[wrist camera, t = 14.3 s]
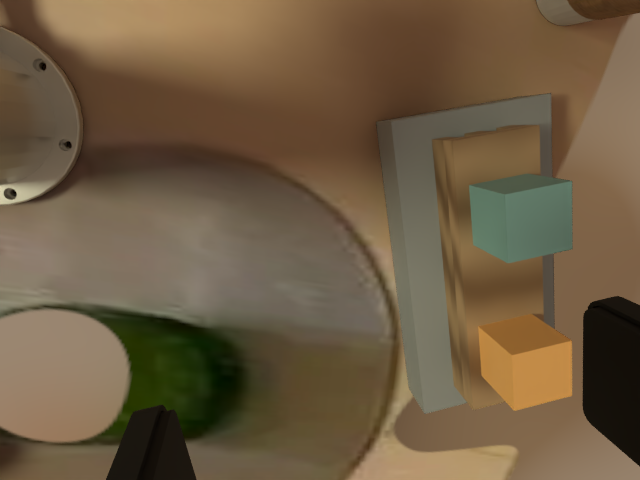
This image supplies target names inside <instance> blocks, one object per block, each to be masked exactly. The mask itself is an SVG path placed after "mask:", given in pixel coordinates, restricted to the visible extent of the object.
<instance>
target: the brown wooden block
mask: <svg viewBox="0 0 640 480" xmlns="http://www.w3.org/2000/svg"><path fill="white" fill-rule="evenodd" d="M432 147H433V159H434V170H435V181H436V192H437V203H438V214H439V225H440V236H441V248H442V259H443V270H444V281H445V292H446V303H447V314H448V325H449V336H450V348H451V359H452V370H453V381H454V387H455V388H456V389H457V390H458V392H459V393H460V394H461V395H462V397H463V398H464V399H465V400H466V402H467V403H468V404H469V405H470V407H471V408H472V409H473V410H476V409H479V408H483V407H487V406H491V405H495V404H499V403H503V402H506V401H505V400H504V399H503V398H502V397H501V396H500V395H499V394H498V393H497V392H496V391H495V390H494V389H493V388H492V386H491V385H490V384H489V383H488V382H487V381H486V380H485V379H484V378H483V377H482V374H481V360H480V345H479V330H478V326H482V325H486V324H490V323H494V322H498V321H503V320H507V319H511V318H515V317H520V316H524V315H528V314H532V315H534V316H535V317H537V318H538V319H540V320H541V321H543V322H544V308H543V262H542V256H539V257H535V258H530V259H526V260H521V261H517V262H512V263H506V262H505V261H503V260H501V259H499V258H497V257H495V256H493V255H491V254H489V253H487V252H486V251H484V250H482V249H480V248H478V247H476V246H474V245H473V235H472V221H471V206H470V192H469V185H472V184H477V183H482V182H487V181H492V180H497V179H502V178H507V177H512V176H517V175H522V174H527V173H528V174H534V175H540V176H541V170H540V125H509V126H503V127H498V128H496V131H476V132H470V133H465V134H464V137H443V138H438V139H432Z"/></svg>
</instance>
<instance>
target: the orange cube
mask: <svg viewBox="0 0 640 480" xmlns="http://www.w3.org/2000/svg"><path fill="white" fill-rule="evenodd" d="M478 330H479V345H480V360H481V374H482V377H483V378H484V379H485V380H486V381H487V382H488V383H489V384H490V385H491V386H492V388H493V389H494V390H495V391H496V392H497V393H498V394H499V395H500V396H501V397H502V398H503V399H504V400H505V401H506V402H507V404H508V405H509V406H510V407H511V408H512V409H513V410H514V411H516V410H519V409H523V408H527V407H531V406H535V405H538V404H542V403H546V402H550V401H554V400H558V399H562V398H565V397H569V396H572V340H570V339H569V338H567V337H566V336H564V335H563V334H561V333H560V332H558V331H557V330H555V329H554V328H552V327H551V326H549V325H548V324H546V323H544V322H543V321H541V320H540V319H538V318H537V317H535V316H534V315H532V314H528V315H524V316H520V317H515V318H511V319H507V320H503V321H498V322H494V323H490V324H486V325H482V326H478Z"/></svg>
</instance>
